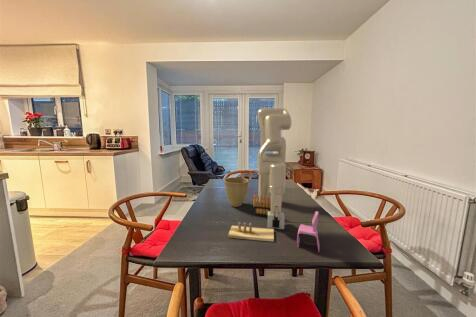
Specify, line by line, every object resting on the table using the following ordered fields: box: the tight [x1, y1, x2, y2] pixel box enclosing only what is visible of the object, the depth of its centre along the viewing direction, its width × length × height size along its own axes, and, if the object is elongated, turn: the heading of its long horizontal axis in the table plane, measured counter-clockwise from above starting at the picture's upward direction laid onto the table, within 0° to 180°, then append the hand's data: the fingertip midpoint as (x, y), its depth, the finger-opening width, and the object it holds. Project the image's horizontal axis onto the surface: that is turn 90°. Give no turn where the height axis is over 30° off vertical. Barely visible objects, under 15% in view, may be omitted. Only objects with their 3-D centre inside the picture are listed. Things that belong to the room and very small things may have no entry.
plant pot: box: [223, 176, 249, 208], centre depth 130 cm, size 15×15×16 cm
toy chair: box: [296, 210, 320, 253], centre depth 85 cm, size 8×9×15 cm
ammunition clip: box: [252, 193, 271, 217], centre depth 115 cm, size 11×2×12 cm, turn 77°
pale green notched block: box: [266, 211, 286, 230], centre depth 103 cm, size 5×8×6 cm, turn 81°
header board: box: [227, 221, 275, 242], centre depth 95 cm, size 9×20×5 cm, turn 81°
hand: (275, 224), depth 103 cm, fingers closed on pale green notched block, 4 cm apart
